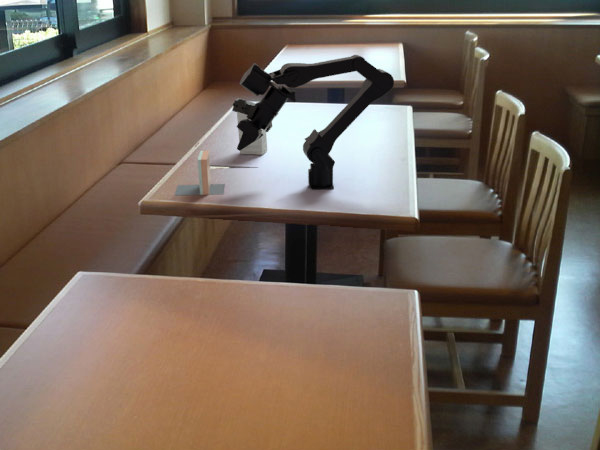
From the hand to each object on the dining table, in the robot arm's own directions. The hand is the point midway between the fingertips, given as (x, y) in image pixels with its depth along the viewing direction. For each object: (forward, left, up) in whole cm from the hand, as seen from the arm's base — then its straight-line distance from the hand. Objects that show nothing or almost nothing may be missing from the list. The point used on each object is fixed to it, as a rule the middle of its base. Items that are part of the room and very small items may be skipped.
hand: (238, 149), depth 186 cm
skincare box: (-3, -38, -12) cm, 40 cm away
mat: (+11, +2, -11) cm, 16 cm away
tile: (+10, +2, -11) cm, 15 cm away
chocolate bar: (+5, -17, -12) cm, 21 cm away
